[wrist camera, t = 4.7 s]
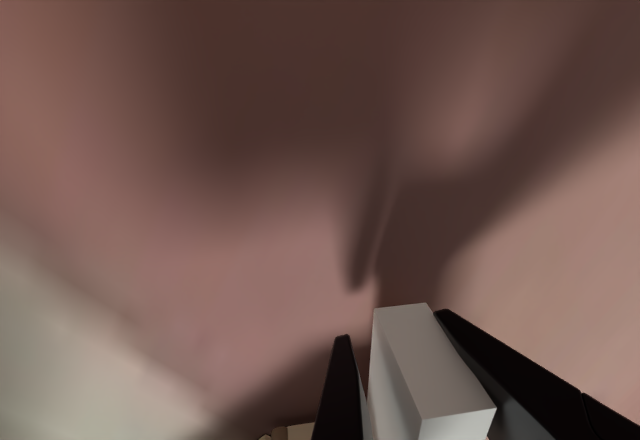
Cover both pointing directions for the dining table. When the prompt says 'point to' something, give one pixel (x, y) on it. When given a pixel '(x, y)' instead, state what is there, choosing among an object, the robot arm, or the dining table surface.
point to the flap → (416, 383)
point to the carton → (265, 437)
